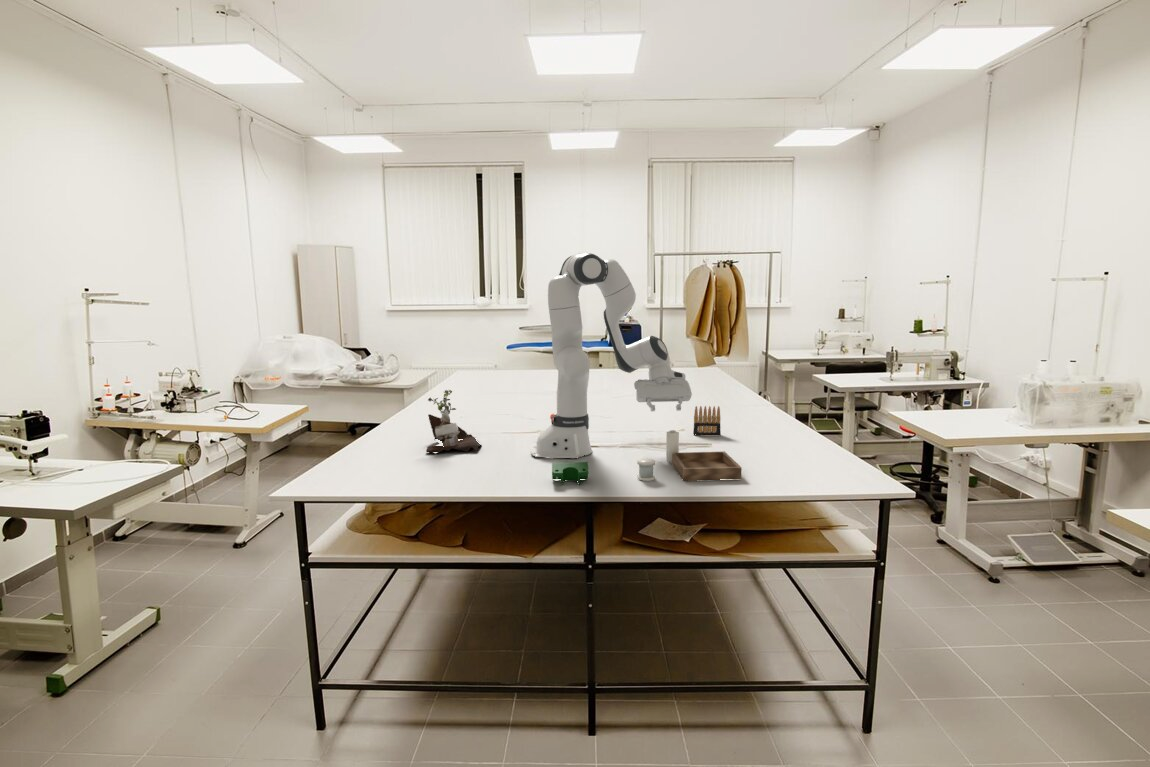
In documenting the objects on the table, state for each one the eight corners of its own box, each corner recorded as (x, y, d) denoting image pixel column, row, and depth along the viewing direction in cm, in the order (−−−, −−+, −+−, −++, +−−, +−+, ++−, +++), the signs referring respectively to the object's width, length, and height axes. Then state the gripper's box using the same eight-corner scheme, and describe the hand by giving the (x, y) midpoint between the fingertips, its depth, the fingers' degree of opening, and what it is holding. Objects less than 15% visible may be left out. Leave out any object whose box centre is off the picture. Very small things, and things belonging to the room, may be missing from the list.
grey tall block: (667, 462, 202) (667, 432, 200) (665, 459, 206) (665, 429, 204) (679, 462, 202) (680, 432, 200) (677, 458, 206) (677, 429, 204)
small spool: (638, 481, 183) (638, 463, 182) (636, 476, 188) (636, 458, 187) (656, 481, 183) (656, 463, 182) (653, 475, 188) (653, 458, 187)
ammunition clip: (720, 434, 238) (720, 405, 236) (720, 435, 236) (721, 406, 234) (693, 434, 240) (693, 405, 238) (693, 435, 238) (694, 406, 236)
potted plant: (427, 462, 215) (414, 395, 216) (434, 460, 233) (422, 399, 235) (481, 450, 217) (467, 384, 219) (484, 449, 236) (471, 388, 237)
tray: (683, 481, 182) (683, 469, 181) (671, 464, 200) (671, 452, 199) (741, 479, 183) (741, 467, 182) (724, 462, 200) (724, 451, 200)
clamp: (559, 498, 182) (546, 475, 179) (558, 487, 188) (546, 465, 184) (594, 484, 181) (582, 460, 177) (593, 473, 186) (581, 450, 183)
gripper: (634, 374, 218) (638, 406, 210) (689, 373, 219) (695, 404, 211) (632, 384, 223) (636, 415, 215) (686, 383, 224) (692, 414, 216)
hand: (666, 410), depth 213 cm, fingers open, 8 cm apart
